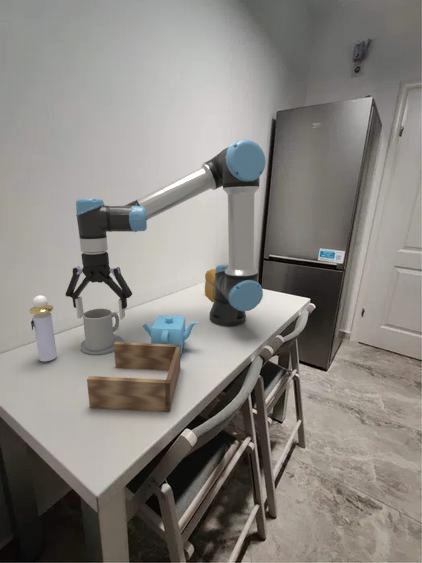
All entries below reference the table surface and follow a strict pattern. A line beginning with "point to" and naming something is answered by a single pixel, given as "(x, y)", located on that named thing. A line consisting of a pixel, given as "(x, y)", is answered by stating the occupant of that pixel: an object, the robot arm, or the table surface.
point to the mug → (99, 329)
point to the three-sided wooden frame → (138, 379)
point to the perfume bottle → (43, 328)
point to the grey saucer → (109, 350)
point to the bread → (210, 284)
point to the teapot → (169, 330)
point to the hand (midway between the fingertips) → (101, 317)
